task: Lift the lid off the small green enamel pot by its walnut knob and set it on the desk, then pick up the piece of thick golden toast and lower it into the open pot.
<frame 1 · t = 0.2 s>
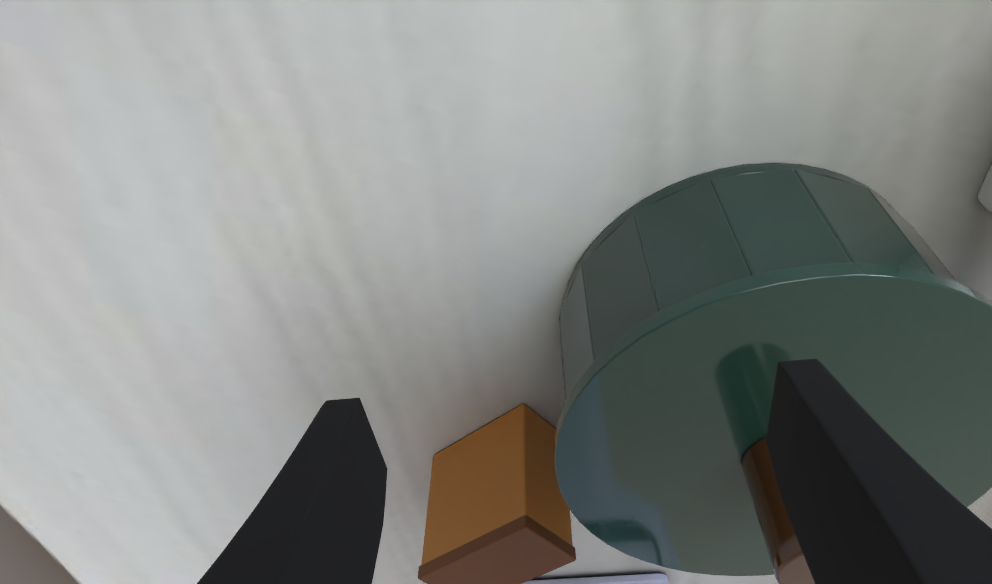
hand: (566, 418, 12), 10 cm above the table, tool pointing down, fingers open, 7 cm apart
pot: (732, 315, 24), on the table
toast: (497, 445, 29), on the table
lid: (779, 442, 20), point 5 cm above the table, touching pot
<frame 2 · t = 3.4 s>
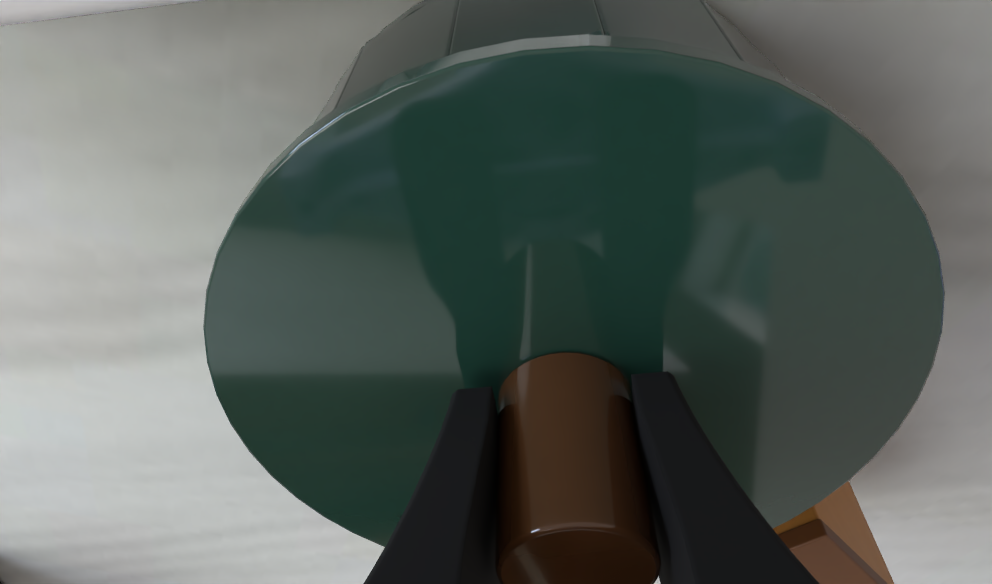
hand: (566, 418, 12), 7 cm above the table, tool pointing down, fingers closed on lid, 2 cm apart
pot: (550, 216, 17), on the table
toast: (762, 431, 22), on the table
lid: (562, 377, 13), point 5 cm above the table, touching gripper, pot
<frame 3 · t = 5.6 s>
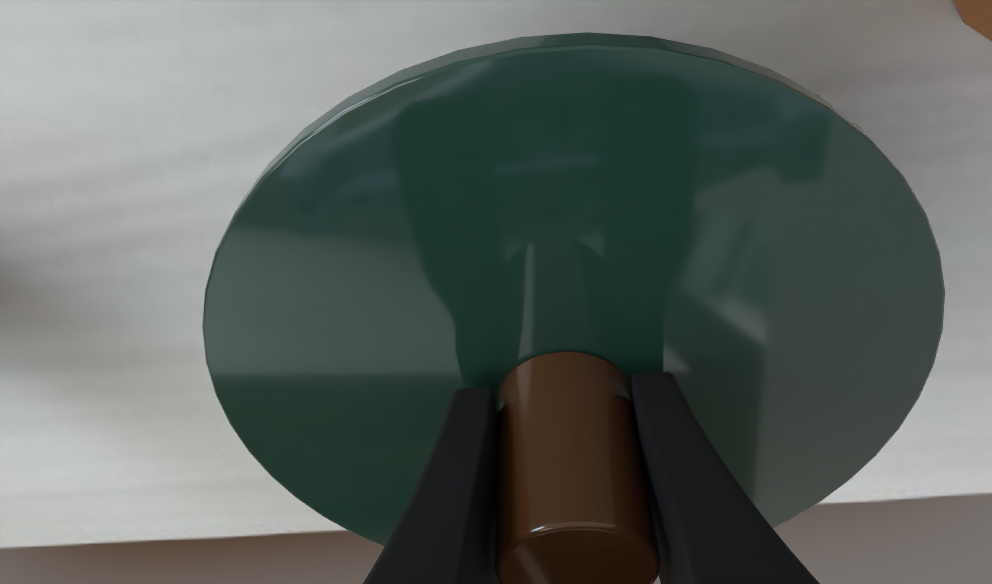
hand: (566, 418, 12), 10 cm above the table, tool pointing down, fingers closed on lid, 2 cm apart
lid: (562, 376, 13), point 9 cm above the table, touching gripper
when the fingers open (2 cm above the table, at t = 7.7 s): lid stays where it is, point 1 cm above the table.
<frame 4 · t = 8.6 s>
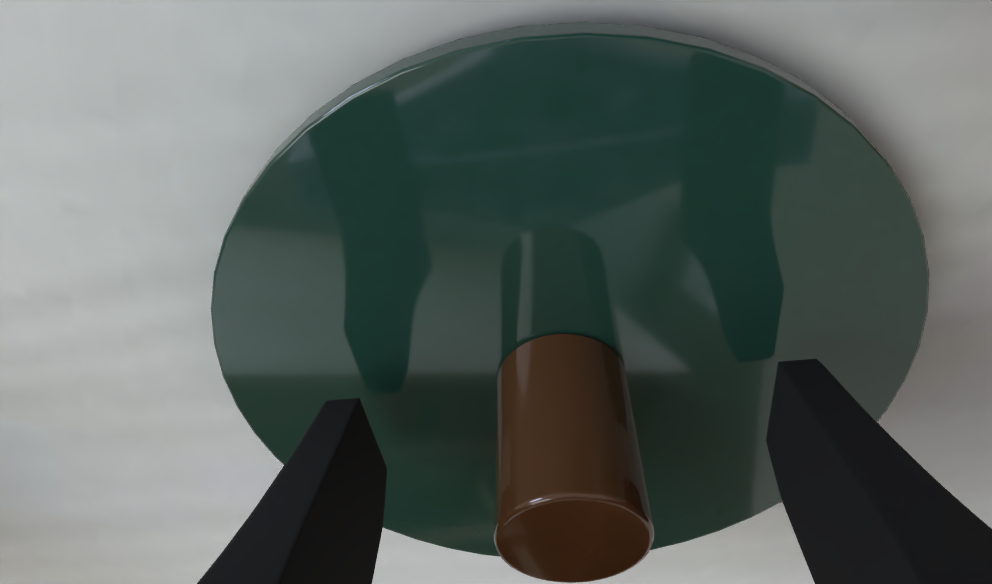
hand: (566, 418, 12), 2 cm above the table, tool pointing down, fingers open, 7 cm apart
lid: (559, 359, 13), point 1 cm above the table
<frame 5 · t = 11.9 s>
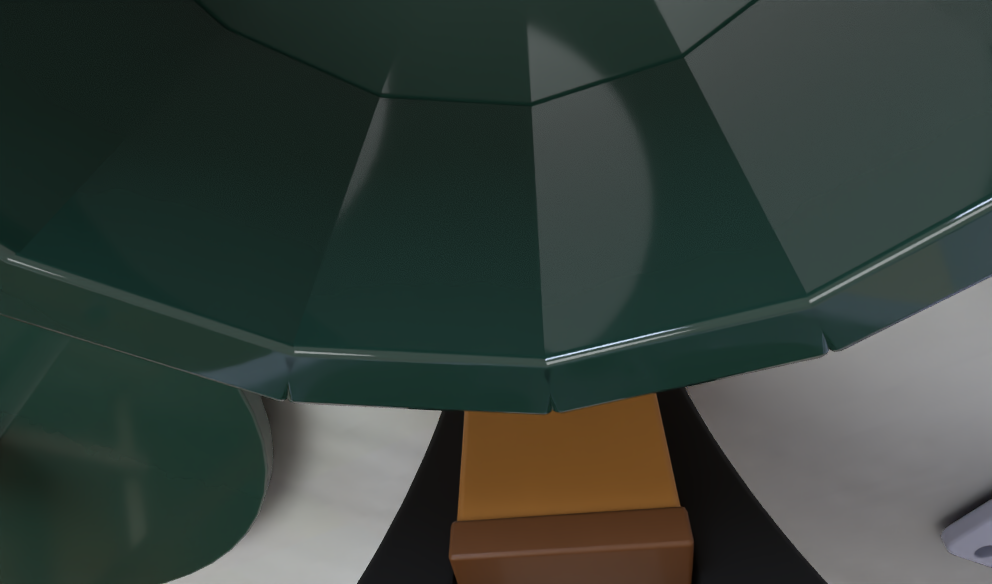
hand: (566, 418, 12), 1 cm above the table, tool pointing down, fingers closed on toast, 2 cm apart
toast: (561, 362, 13), on the table, touching gripper
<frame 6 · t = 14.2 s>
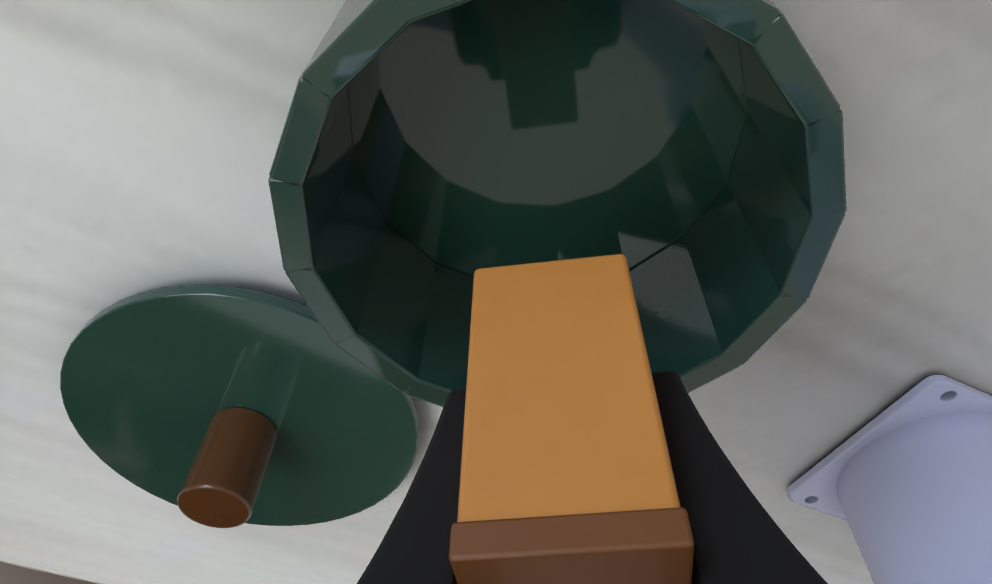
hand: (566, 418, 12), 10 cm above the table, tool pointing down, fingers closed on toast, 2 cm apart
pot: (544, 127, 19), on the table
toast: (560, 362, 13), point 8 cm above the table, touching gripper
lid: (248, 417, 26), point 1 cm above the table
when the fingers open (2 cm above the table, at t = 17.0 s): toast stays where it is, resting on pot.
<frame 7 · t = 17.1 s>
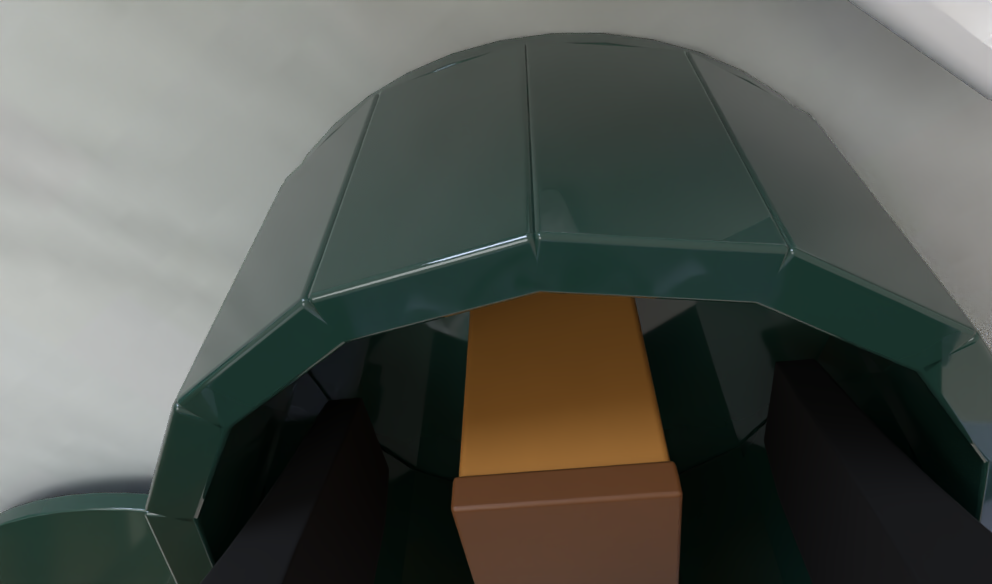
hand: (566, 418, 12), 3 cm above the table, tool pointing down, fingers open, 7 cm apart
pot: (558, 323, 14), on the table
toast: (558, 339, 14), point 1 cm above the table, touching pot
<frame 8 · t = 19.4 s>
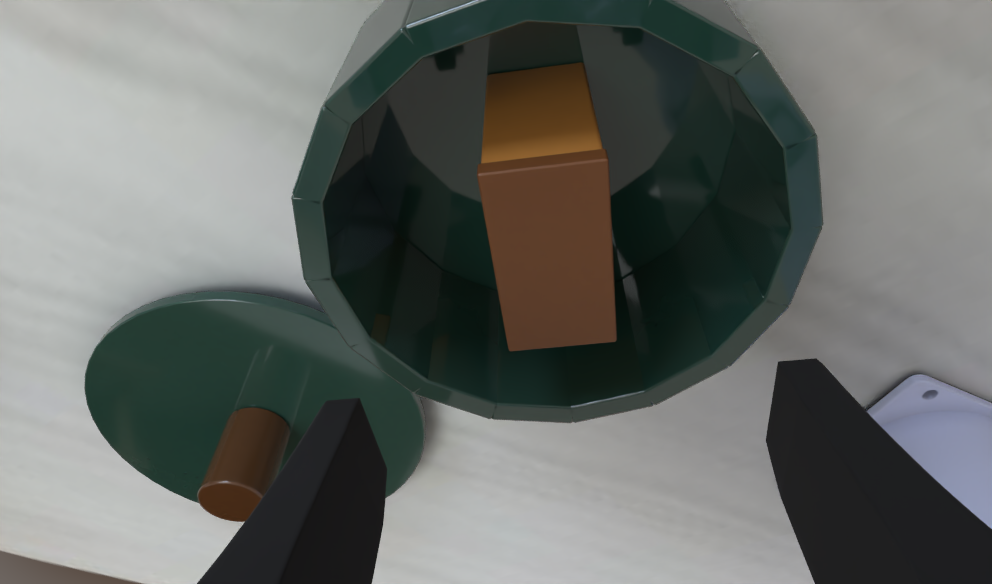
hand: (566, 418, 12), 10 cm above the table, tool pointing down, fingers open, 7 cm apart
pot: (544, 143, 20), on the table
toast: (544, 151, 20), point 1 cm above the table, touching pot
lid: (262, 417, 27), point 1 cm above the table
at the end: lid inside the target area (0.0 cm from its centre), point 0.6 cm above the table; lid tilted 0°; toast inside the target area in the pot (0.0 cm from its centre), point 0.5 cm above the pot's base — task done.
